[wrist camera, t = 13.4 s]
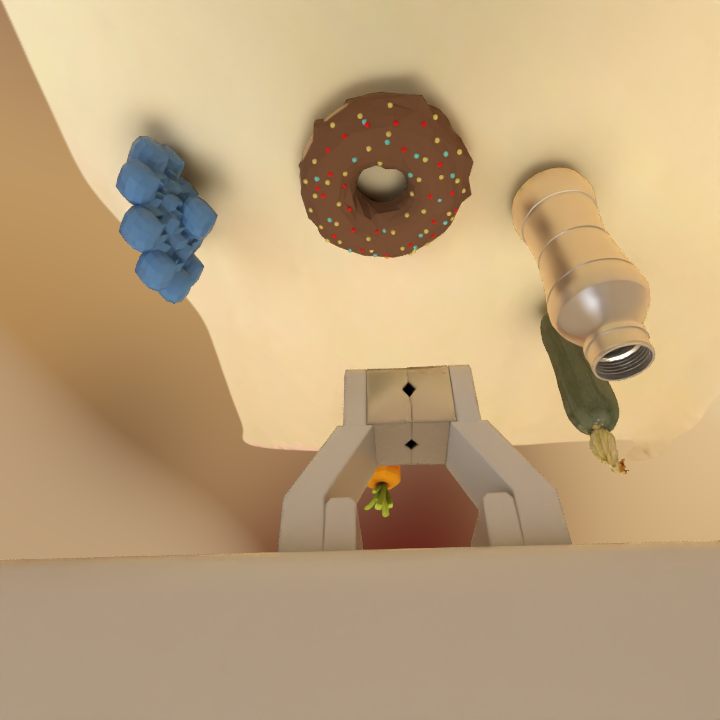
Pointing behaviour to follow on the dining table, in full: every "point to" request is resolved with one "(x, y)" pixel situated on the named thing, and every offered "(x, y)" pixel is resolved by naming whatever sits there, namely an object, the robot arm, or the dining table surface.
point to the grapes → (163, 219)
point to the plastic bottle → (585, 274)
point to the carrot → (383, 487)
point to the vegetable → (584, 395)
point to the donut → (391, 151)
